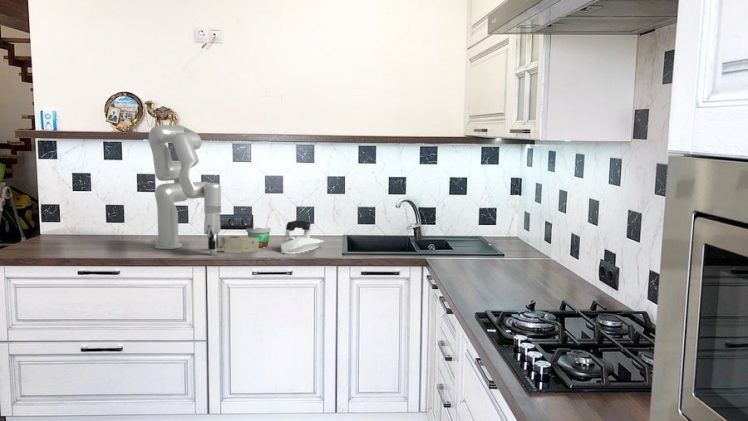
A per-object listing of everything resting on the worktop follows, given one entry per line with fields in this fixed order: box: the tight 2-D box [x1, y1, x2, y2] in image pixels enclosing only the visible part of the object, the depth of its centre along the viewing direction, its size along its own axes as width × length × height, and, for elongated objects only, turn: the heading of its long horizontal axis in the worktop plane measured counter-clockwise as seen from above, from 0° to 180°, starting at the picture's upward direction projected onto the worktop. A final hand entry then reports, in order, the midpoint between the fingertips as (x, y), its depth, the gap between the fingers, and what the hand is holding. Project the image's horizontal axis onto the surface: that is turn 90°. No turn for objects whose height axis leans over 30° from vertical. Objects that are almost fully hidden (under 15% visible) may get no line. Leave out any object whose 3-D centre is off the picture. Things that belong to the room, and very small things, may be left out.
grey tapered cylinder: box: [209, 233, 218, 257], centre depth 304 cm, size 4×4×13 cm
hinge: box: [217, 235, 260, 254], centre depth 313 cm, size 24×8×7 cm, turn 85°
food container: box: [245, 226, 272, 249], centre depth 324 cm, size 12×6×10 cm, turn 105°
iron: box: [280, 220, 325, 255], centre depth 319 cm, size 11×24×15 cm, turn 146°
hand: (213, 248), depth 304 cm, fingers closed on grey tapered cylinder, 3 cm apart
